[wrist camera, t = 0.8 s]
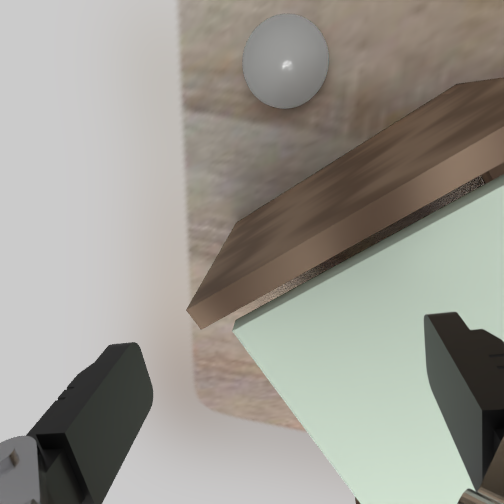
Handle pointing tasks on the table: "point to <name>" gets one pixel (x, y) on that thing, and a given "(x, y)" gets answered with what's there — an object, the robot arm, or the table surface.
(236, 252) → the stand
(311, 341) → the trapdoor
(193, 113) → the table surface
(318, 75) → the smooth gray cylinder
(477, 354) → the robot arm
